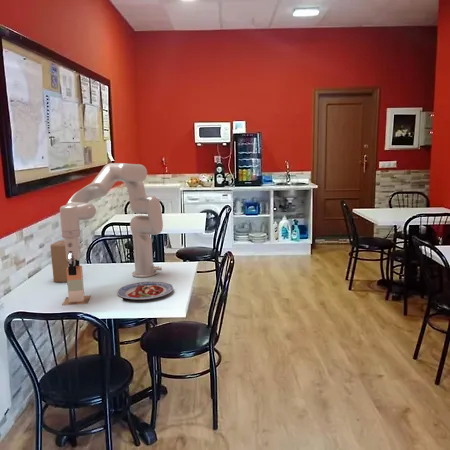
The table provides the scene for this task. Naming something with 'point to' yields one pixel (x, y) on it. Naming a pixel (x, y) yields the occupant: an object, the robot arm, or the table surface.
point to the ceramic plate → (145, 290)
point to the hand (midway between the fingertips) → (74, 272)
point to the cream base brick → (76, 296)
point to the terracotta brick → (78, 275)
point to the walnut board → (66, 302)
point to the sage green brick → (75, 285)
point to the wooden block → (59, 261)
